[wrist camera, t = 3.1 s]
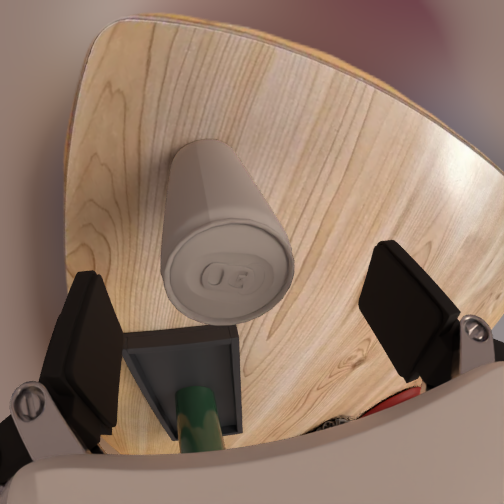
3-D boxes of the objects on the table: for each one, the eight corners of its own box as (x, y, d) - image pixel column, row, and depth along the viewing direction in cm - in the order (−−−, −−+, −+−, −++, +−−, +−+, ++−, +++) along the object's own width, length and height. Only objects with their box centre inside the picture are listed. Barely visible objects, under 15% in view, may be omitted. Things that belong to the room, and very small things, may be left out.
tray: (171, 430, 41) (172, 441, 39) (120, 333, 26) (118, 349, 25) (240, 422, 43) (242, 433, 41) (235, 321, 29) (239, 337, 27)
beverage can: (228, 207, 22) (271, 331, 12) (164, 195, 20) (152, 322, 10) (248, 145, 19) (320, 231, 10) (179, 129, 18) (171, 202, 8)
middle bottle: (178, 406, 35) (193, 516, 22) (170, 388, 32) (185, 514, 19) (216, 402, 36) (239, 512, 23) (212, 383, 33) (237, 508, 20)
